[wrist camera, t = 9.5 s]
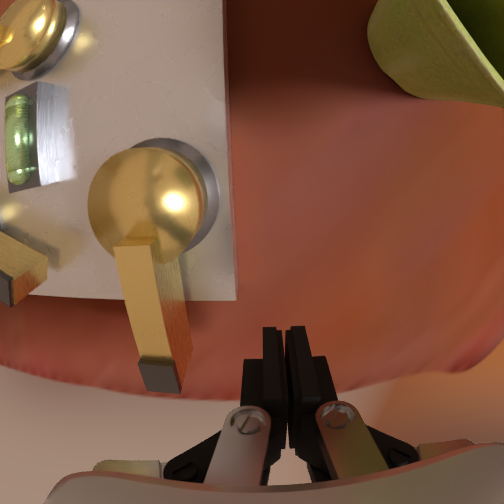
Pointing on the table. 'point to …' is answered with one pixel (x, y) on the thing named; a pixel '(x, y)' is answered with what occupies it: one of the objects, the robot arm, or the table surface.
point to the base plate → (119, 136)
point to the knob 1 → (19, 270)
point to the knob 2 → (151, 250)
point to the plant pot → (441, 48)
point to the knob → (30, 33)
